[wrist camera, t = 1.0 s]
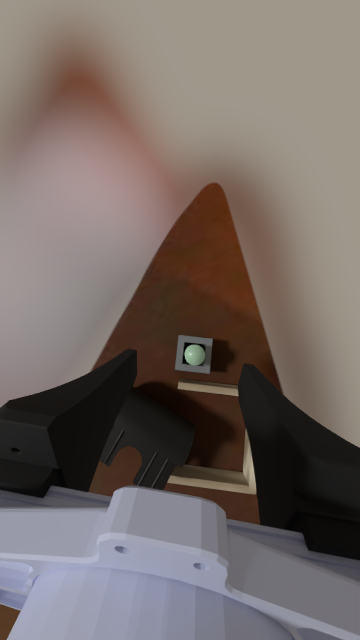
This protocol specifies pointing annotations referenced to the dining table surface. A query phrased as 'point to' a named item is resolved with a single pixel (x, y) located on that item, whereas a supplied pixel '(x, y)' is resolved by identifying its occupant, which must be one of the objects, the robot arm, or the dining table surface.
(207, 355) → the button housing
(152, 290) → the dining table surface
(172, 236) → the dining table surface
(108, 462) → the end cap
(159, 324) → the dining table surface
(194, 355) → the button
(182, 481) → the cream square frame
